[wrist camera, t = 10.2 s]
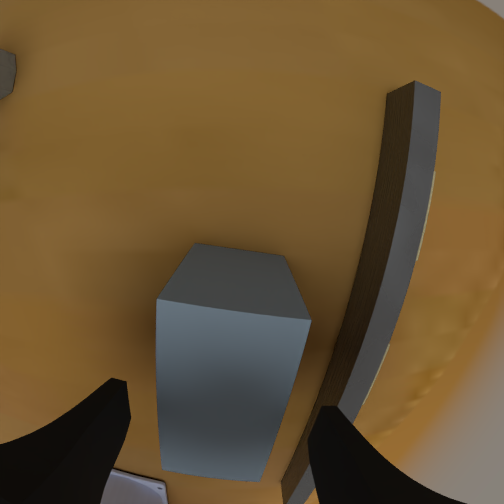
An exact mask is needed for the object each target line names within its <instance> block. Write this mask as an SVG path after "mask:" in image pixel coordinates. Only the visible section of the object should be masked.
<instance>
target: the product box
mask: <svg viewBox="0 0 504 504" xmlns="http://www.w3.org/2000/svg"><path fill="white" fill-rule="evenodd" d="M311 321H312V320H311V317H310V315H309V313H308V310H307V308H306V306H305V303H304V301H303V299H302V296H301V294H300V292H299V290H298V287H297V285H296V283H295V280H294V278H293V276H292V273H291V271H290V269H289V267H288V264H287V262H286V260H285V258H284V256H281V255H274V254H267V253H260V252H253V251H246V250H239V249H232V248H226V247H219V246H212V245H205V244H198V243H195V244H194V245H193V246H192V248H191V249H190V251H189V252H188V254H187V255H186V256H185V258H184V259H183V261H182V262H181V264H180V265H179V267H178V268H177V269H176V271H175V272H174V274H173V275H172V277H171V278H170V280H169V281H168V283H167V284H166V286H165V287H164V289H163V290H162V292H161V293H160V295H159V296H158V298H157V307H156V387H157V411H158V428H159V441H160V453H161V463H162V470H166V471H171V472H176V473H182V474H188V475H194V476H201V477H208V478H217V479H226V480H237V481H253V482H260V479H261V477H262V474H263V472H264V469H265V466H266V464H267V461H268V458H269V456H270V453H271V450H272V447H273V445H274V442H275V439H276V436H277V433H278V430H279V427H280V424H281V421H282V418H283V415H284V412H285V409H286V406H287V403H288V400H289V397H290V394H291V391H292V387H293V384H294V381H295V378H296V374H297V371H298V367H299V364H300V361H301V357H302V354H303V350H304V347H305V343H306V339H307V336H308V332H309V328H310V325H311Z"/></svg>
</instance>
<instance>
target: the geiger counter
mask: <svg viewBox="0 0 504 504" xmlns="http://www.w3.org/2000/svg"><path fill="white" fill-rule="evenodd" d="M15 74H16V62H15V54H12V53H10V52H7V51H5V50H2V49H0V99H2V98H4V97H5V96H7V95H8V94H10V93H11V92H12V90H13V85H14V79H15Z"/></svg>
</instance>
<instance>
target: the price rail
mask: <svg viewBox="0 0 504 504" xmlns="http://www.w3.org/2000/svg"><path fill="white" fill-rule="evenodd" d="M440 99H441V92H439V91H437V90H435V89H433V88H431V87H429V86H426V85H424V84H422V83H420V82H417V81H413V82H411V83H408V84H406V85H404V86H402V87H400V88H398V89H396V90H394V91H392V92H390V93H388V94H387V101H386V112H385V121H384V130H383V138H382V146H381V153H380V160H379V166H378V173H377V179H376V185H375V190H374V196H373V201H372V207H371V212H370V217H369V222H368V226H367V231H366V236H365V240H364V245H363V249H362V253H361V258H360V262H359V266H358V270H357V274H356V278H355V282H354V285H353V289H352V293H351V296H350V300H349V304H348V307H347V311H346V314H345V317H344V321H343V324H342V327H341V331H340V334H339V337H338V340H337V343H336V346H335V349H334V353H333V356H332V359H331V361H330V364H329V367H328V370H327V373H326V376H325V379H324V381H323V384H322V387H321V390H320V392H319V395H318V398H317V400H316V403H315V405H314V408H313V411H312V413H311V416H310V418H309V421H308V423H307V425H306V428H305V430H304V433H303V435H302V437H301V440H300V442H299V444H298V447H297V449H296V451H295V453H294V456H293V458H292V460H291V462H290V464H289V466H288V469H287V471H286V473H285V475H284V477H283V479H282V481H281V488H282V497H283V504H304V503H305V501H306V500H307V499H308V497H309V496H310V494H311V493H312V491H313V490H314V488H315V483H314V479H313V475H312V471H311V466H310V462H309V453H308V441H307V439H308V437H309V434H310V432H311V430H312V427H313V425H314V423H315V420H316V418H317V416H318V413H319V411H320V408H321V406H337V407H338V408H339V409H340V410H341V411H342V413H343V414H344V415H345V416H346V417H347V419H348V420H349V421H350V422H351V423H352V424H353V422H354V420H355V418H356V416H357V414H358V412H359V410H360V408H361V406H362V405H364V403H365V401H366V399H367V397H368V395H369V393H370V391H371V388H372V386H373V384H374V382H375V380H376V377H377V375H378V373H379V370H380V368H381V366H382V363H383V361H384V358H385V356H386V354H387V351H388V349H389V346H390V343H389V342H390V339H391V336H392V334H393V331H394V328H395V325H396V323H397V320H398V317H399V314H400V311H401V308H402V305H403V302H404V299H405V296H406V292H407V289H408V286H409V282H410V279H411V276H412V272H413V268H414V265H415V261H417V260H418V256H419V253H420V249H421V245H422V240H423V236H424V232H425V227H426V223H427V218H428V213H429V208H430V203H431V197H432V191H433V185H434V179H435V171H434V167H435V159H436V151H437V142H438V131H439V118H440Z"/></svg>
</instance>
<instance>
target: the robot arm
mask: <svg viewBox="0 0 504 504" xmlns="http://www.w3.org/2000/svg"><path fill="white" fill-rule="evenodd" d="M130 420H131V414H130V407H129V399H128V391H127V382H126V381H122V380H118V379H115V378H110V379H109V380H108V381H106V382H105V383H104V384H103V385H102V386H100V387H99V388H98V389H97V390H95V391H94V392H93V393H92V394H91V395H89V396H88V397H87V398H86V399H84V400H83V401H82V402H80V403H79V404H78V405H76V406H75V407H74V408H72V409H71V410H70V411H68V412H67V413H65V414H64V415H62V416H61V417H59V418H58V419H56V420H54V421H53V422H51V423H49V424H48V425H46V426H44V427H42V428H40V429H38V430H36V431H34V432H32V433H30V434H28V435H25V436H23V437H20V438H18V439H15V440H13V441H10V442H7V443H3V444H0V504H168V500H167V493H166V485H165V483H164V482H161V481H157V480H153V479H148V478H144V477H140V476H136V475H132V474H129V473H125V472H121V471H118V470H115V469H112V468H113V466H114V464H115V461H116V459H117V457H118V455H119V452H120V450H121V448H122V445H123V443H124V440H125V438H126V434H127V431H128V427H129V424H130ZM307 441H308V453H309V462H310V466H311V471H312V475H313V479H314V483H315V487H316V491H317V495H318V500H319V504H466V503H463V502H460V501H456V500H454V499H450V498H448V497H446V496H443V495H441V494H439V493H436V492H434V491H432V490H430V489H428V488H426V487H425V486H423V485H421V484H419V483H418V482H416V481H414V480H413V479H411V478H410V477H408V476H407V475H406V474H404V473H403V472H401V471H400V470H399V469H398V468H396V467H395V466H394V465H392V464H391V463H390V462H389V461H388V460H386V459H385V458H384V457H383V456H382V455H381V454H380V453H379V452H378V451H377V450H376V449H375V448H374V447H373V446H372V445H371V444H370V443H369V442H368V441H367V440H366V439H365V438H364V437H363V436H362V435H361V433H360V432H359V431H358V430H357V429H356V428H355V427H354V426H353V424H352V423H351V422H350V421H349V420H348V419H347V417H346V416H345V415H344V414H343V413H342V411H341V410H340V409H339V408H338V407H337V406H321V408H320V411H319V413H318V416H317V418H316V420H315V423H314V425H313V427H312V430H311V432H310V434H309V437H308V439H307Z"/></svg>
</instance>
